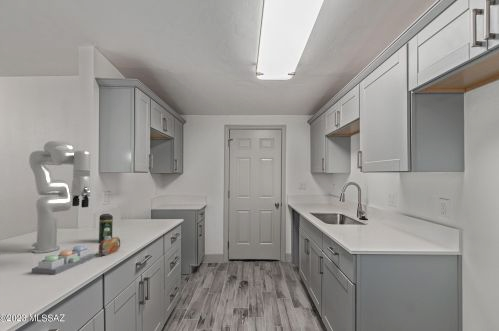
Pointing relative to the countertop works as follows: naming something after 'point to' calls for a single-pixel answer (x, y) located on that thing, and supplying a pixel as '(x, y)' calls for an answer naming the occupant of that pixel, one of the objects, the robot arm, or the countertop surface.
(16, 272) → the countertop surface
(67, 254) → the terracotta button
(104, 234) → the coffee jar
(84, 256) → the button panel
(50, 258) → the green button
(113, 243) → the tin
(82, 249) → the slate button
